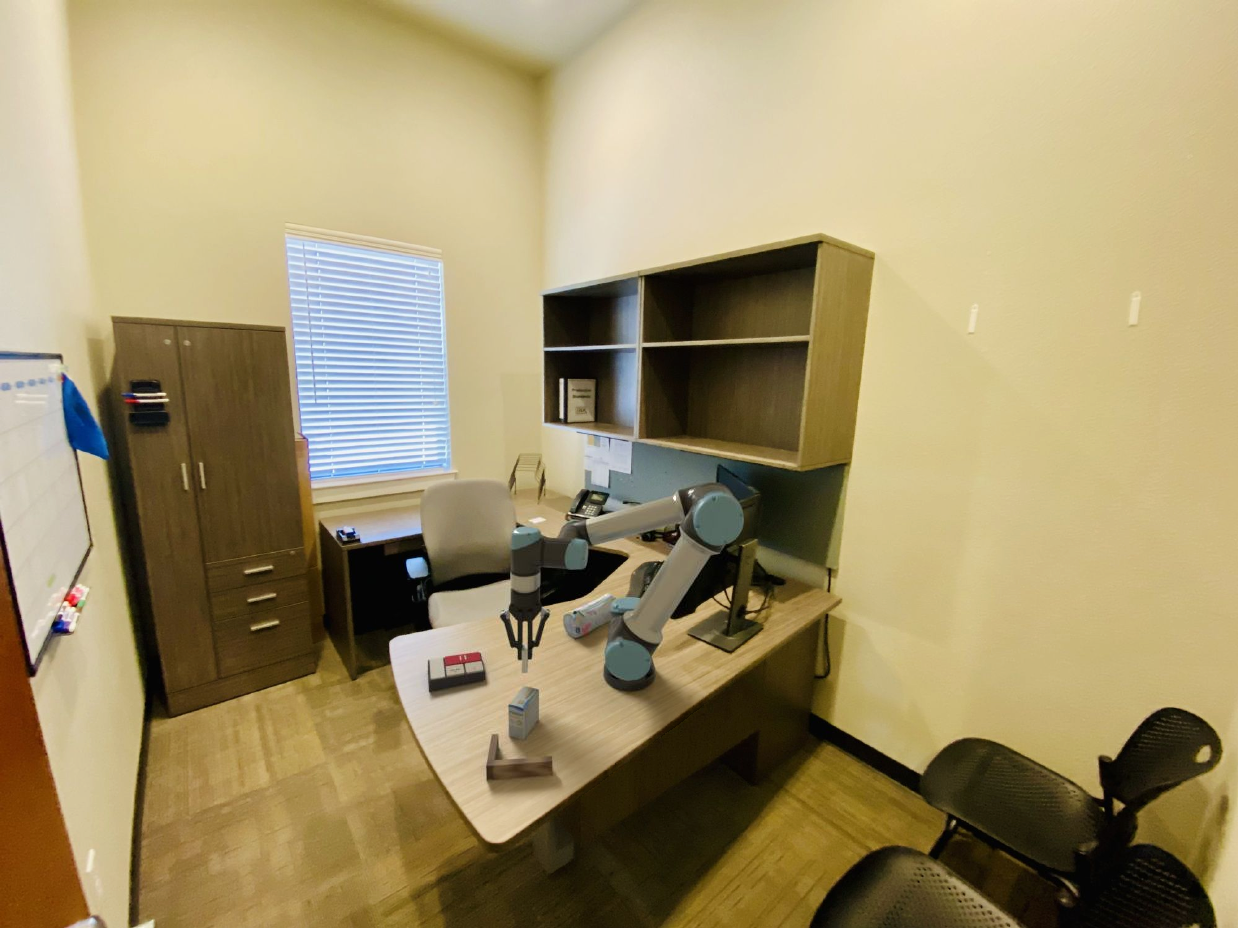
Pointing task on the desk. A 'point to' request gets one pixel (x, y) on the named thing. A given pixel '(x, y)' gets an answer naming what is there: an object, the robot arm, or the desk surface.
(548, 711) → the desk surface
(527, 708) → the medicine box
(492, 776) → the corner fence
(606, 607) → the pencil case
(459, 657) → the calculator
